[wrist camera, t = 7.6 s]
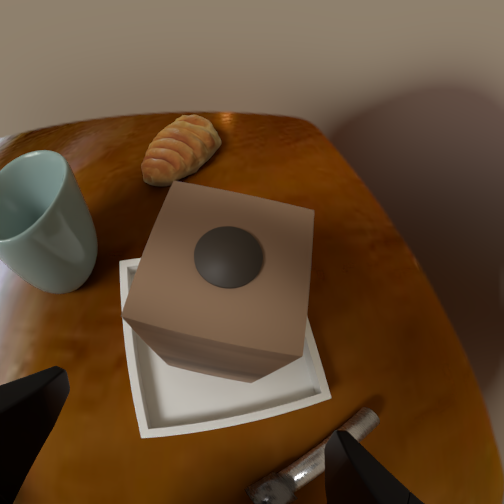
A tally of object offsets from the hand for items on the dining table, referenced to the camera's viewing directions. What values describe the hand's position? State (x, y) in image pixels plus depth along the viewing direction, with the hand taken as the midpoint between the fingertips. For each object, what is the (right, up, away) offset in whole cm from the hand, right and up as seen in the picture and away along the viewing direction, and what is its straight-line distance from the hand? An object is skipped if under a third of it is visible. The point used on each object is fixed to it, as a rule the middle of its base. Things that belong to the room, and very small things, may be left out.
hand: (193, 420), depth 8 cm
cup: (-14, +4, +14) cm, 21 cm away
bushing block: (-1, -1, +13) cm, 13 cm away
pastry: (-6, +15, +22) cm, 28 cm away
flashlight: (+7, -10, +9) cm, 15 cm away
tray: (-1, -1, +13) cm, 13 cm away
